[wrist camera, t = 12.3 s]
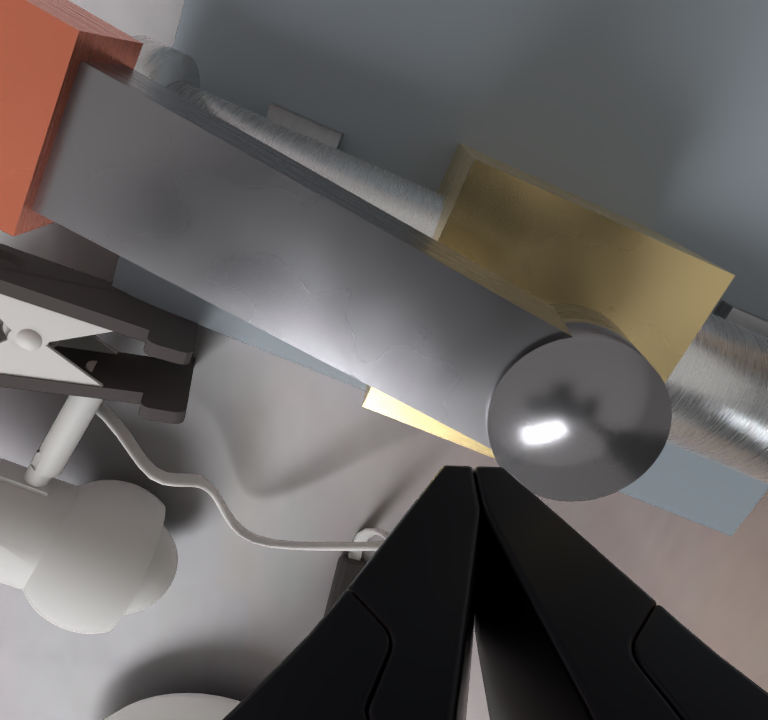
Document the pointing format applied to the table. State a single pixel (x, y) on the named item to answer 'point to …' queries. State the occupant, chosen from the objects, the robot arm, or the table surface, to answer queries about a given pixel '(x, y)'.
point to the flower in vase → (177, 708)
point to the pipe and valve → (550, 269)
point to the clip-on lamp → (157, 402)
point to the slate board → (524, 133)
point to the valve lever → (313, 260)
